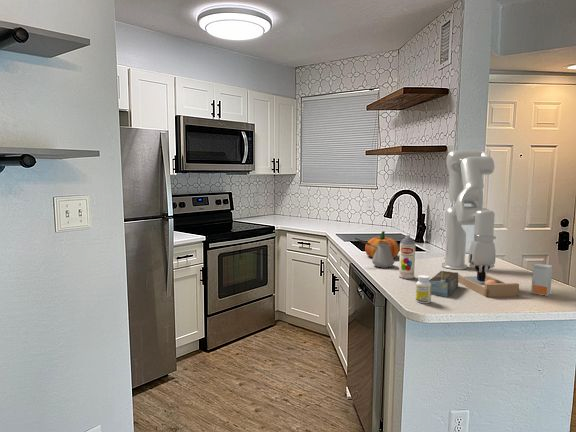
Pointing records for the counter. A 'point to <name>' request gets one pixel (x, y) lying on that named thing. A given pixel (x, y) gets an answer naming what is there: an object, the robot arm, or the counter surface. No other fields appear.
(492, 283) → the ball
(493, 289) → the lane
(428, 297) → the supplement bottle
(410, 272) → the aerosol can
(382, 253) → the coffee pot
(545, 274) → the skincare box
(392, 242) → the pumpkin
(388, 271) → the counter surface
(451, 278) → the beverage carton
